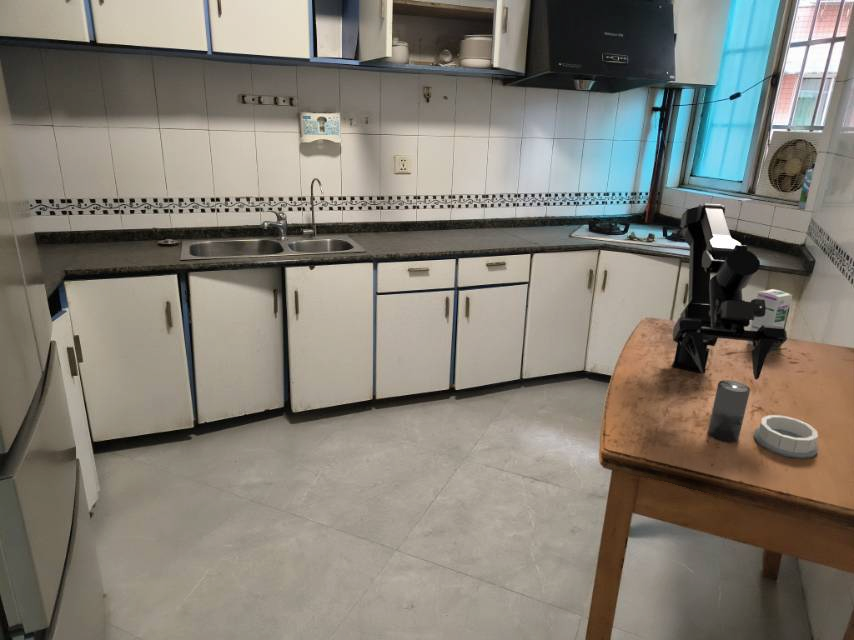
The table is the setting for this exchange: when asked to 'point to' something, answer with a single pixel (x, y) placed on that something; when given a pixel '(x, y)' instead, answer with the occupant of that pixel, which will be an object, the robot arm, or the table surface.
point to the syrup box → (773, 309)
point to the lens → (728, 411)
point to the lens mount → (787, 436)
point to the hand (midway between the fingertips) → (729, 375)
